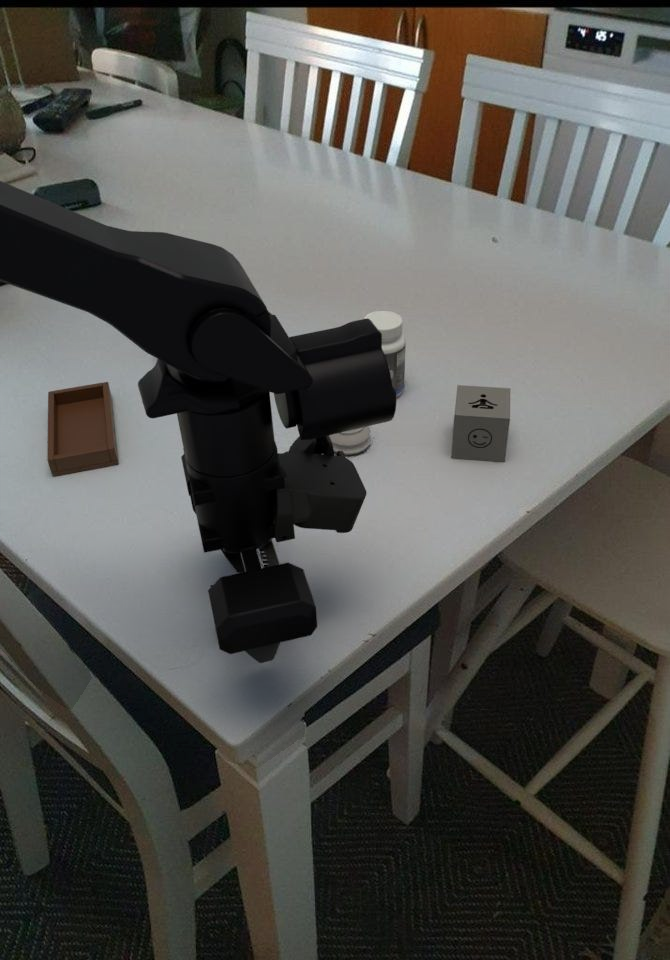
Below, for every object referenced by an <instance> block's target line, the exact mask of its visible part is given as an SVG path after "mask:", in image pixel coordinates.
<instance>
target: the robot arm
mask: <svg viewBox="0 0 670 960" xmlns="http://www.w3.org/2000/svg"><path fill="white" fill-rule="evenodd" d="M0 282H1V283H5V284H8V285H10V286H13V287H16V288H18V289H21V290H24V291H27V292H30V293H31V294H35V295H38V296H41V297H44V298H46V299H50V300H52V301H55V302H58V303H60V304H64V305H67V306H70V307H71V308H75V309H77V310H80V311H84V312H86V313H88V314H90V315H92V316H94V317H95V318H98V319H100V320H101V321H103V322H105V323H107V324H109V325H110V326H112V327H113V328H114V329H115V330H117V331H118V332H119V333H121V334H122V335H123V336H124V337H126V338H127V339H128V340H129V341H130V342H132V343H133V344H135V346H136V347H138V348H140V349H141V350H142V351H143V352H145V353H146V354H148V355H149V356H152V357H153V358H156V359H157V360H156V362H155V365H154V366H153V367H152V368H151V369H150V370H149V371H147V372H146V373H145V374H144V375H143V376H142V377H141V378H140V379H139V380H138V381H137V387H138V391H139V394H140V399H141V401H142V405H143V408H144V412H145V415H146V417H148V418H149V419H157V418H163V417H167V416H172V415H176V416H177V421H178V427H179V432H180V436H181V437H180V438H181V443H182V450H183V454H182V455H181V457H180V458H181V463H182V468H183V473H184V478H185V484H186V488H187V493H188V497H190V502H191V508H192V510H193V512H194V514H195V516H196V520H197V526H198V530H199V535H200V539H201V545H202V549H203V553H204V554H206V553H210V552H215V551H221V553H222V554H223V555H224V557H225V558H226V560H227V561H228V562H229V564H230V565H231V567H232V568H233V570H235V572H236V573H233V574H229V575H224V576H220V577H218V579H217V580H215V582H214V583H213V584H211V585H212V587H211V588H210V587H209V588H208V590H207V592H208V599H209V602H210V607H211V608H210V609H211V613H212V618H213V623H214V628H215V633H216V638H217V643H218V648H219V650H220V651H222V652H224V653H227V654H229V655H233V654H238V653H242V652H245V654H247V655H249V657H251V658H252V659H253V660H255V661H256V662H257V663H259V664H263V663H264V664H265V663H268V662H272V661H274V660H275V658H276V656H277V652H278V650H279V647H280V644H281V643H285V642H289V641H293V640H298V639H302V638H305V637H306V638H307V637H310V636H312V635H313V633H314V632H315V631H316V630H317V628H318V618H317V617H318V616H317V615H318V614H317V605H316V603H315V601H314V598H313V595H312V591H311V587H310V585H309V583H308V579H307V577H306V576H307V575H306V573H305V570H304V569H303V568H302V567H299V566H297V565H295V564H293V563H290V562H289V561H288V562H284V563H280V562H279V559H278V555H277V552H276V548H275V545H274V542H273V539H274V540H275V542H277V543H281V542H285V541H286V542H287V541H290V540H295V539H296V534H295V533H296V531H295V526H296V527H298V528H300V529H307V530H308V529H309V530H324V531H325V530H326V531H335V532H336V533H337V534H347V533H350V532H352V531H353V529H354V526H355V523H356V521H357V519H358V516H359V514H360V511H361V509H362V508H363V505H364V502H365V499H366V497H367V494H368V493H367V492H368V491H367V489H366V487H365V485H364V483H363V481H362V478H361V477H360V475H359V472H358V470H357V468H356V466H355V464H354V462H352V460H350V459H348V458H347V457H346V455H344V452H343V451H338V452H337V453H336V455H335V451H334V449H333V444H332V441H331V439H330V437H329V435H333V434H337V433H341V432H346V431H350V430H354V429H358V428H363V427H367V426H369V427H370V426H375V425H379V424H380V425H381V424H384V423H388V422H391V421H392V420H393V419H394V417H395V414H396V411H397V398H396V391H395V389H394V388H393V386H392V381H391V376H390V371H389V367H388V364H387V360H386V358H385V355H384V352H383V350H382V334H381V333H380V331H379V330H378V329H377V328H376V326H375V325H374V324H373V322H372V321H371V320H370V319H368V318H367V319H364V318H361V319H357V320H353V321H349V322H347V323H345V324H343V325H340V326H337V327H332V328H328V329H327V328H326V329H323V330H317V331H312V332H307V333H302V334H297V335H293V336H289V335H288V333H287V332H286V330H285V328H284V327H283V325H282V323H281V322H280V320H279V318H278V317H277V315H276V314H273V313H271V312H270V311H269V310H268V307H267V306H266V304H265V302H264V300H263V298H262V297H261V295H260V294H259V292H258V290H257V288H256V286H254V284H253V282H252V281H251V278H250V277H249V275H248V274H247V272H246V271H245V269H244V267H243V266H242V264H241V262H240V261H239V260H238V258H236V256H235V255H234V254H233V253H231V252H230V251H228V250H227V249H225V248H224V247H222V246H221V245H216V244H213V243H210V242H206V241H202V240H197V239H193V238H189V237H185V236H181V235H176V234H172V233H170V232H169V233H168V232H164V231H163V232H162V231H137V230H135V231H134V230H127V229H122V228H119V227H115V226H110V225H106V224H104V223H101V222H100V221H96V220H95V219H92V218H90V217H87V216H85V215H82V214H80V213H78V212H76V211H73V210H71V209H69V208H66V207H63V206H61V205H59V204H56V203H54V202H52V201H49V200H47V199H45V198H42V197H40V196H37V195H35V194H32V193H30V192H28V191H25V190H23V189H21V188H18V187H16V186H14V185H11V184H9V183H6V182H5V181H2V180H0ZM271 393H272V394H273V398H274V402H275V405H276V406H275V407H276V409H277V413H278V416H279V419H280V421H281V423H282V425H283V427H284V428H285V429H286V430H288V429H292V428H295V427H297V431H298V435H299V436H298V437H297V438H296V439H295V440H294V441H293V442H292V444H291V445H290V446H289V448H288V451H285V452H283V453H282V452H278V445H277V443H276V440H275V431H274V430H275V429H274V421H273V411H272V403H271V402H272V401H271ZM258 551H259V554H258ZM259 556H260V557H259ZM260 558H261V561H260ZM261 562H262V565H263V567H262V565H261Z"/></svg>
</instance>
